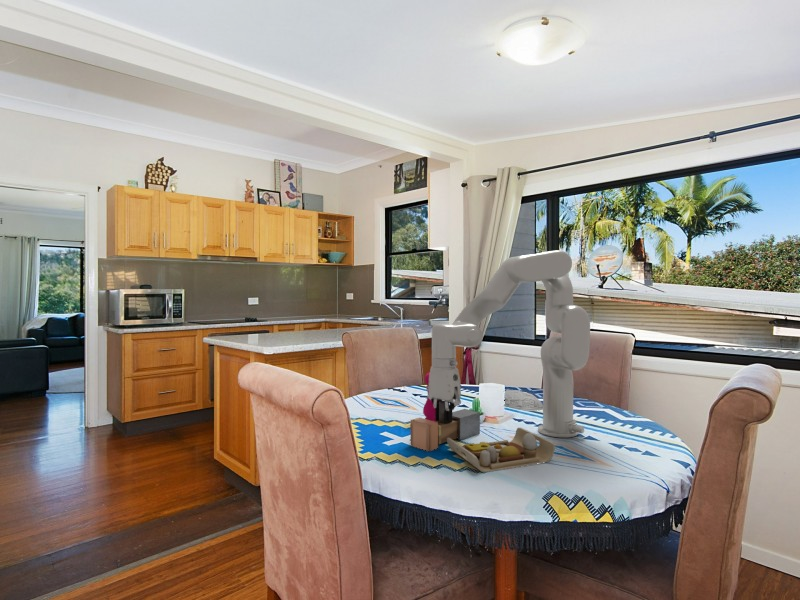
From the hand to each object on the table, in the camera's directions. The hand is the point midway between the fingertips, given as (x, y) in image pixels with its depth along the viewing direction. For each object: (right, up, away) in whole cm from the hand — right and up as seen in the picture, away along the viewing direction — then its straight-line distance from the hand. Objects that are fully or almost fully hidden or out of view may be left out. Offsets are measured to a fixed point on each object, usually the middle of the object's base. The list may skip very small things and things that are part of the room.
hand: (443, 420), depth 148 cm
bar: (+3, -6, +3) cm, 7 cm away
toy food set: (+14, -7, -14) cm, 21 cm away
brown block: (-7, -6, -6) cm, 11 cm away
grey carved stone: (+35, -6, +48) cm, 59 cm away
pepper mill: (-2, -6, +19) cm, 20 cm away
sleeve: (+7, -6, +6) cm, 11 cm away
